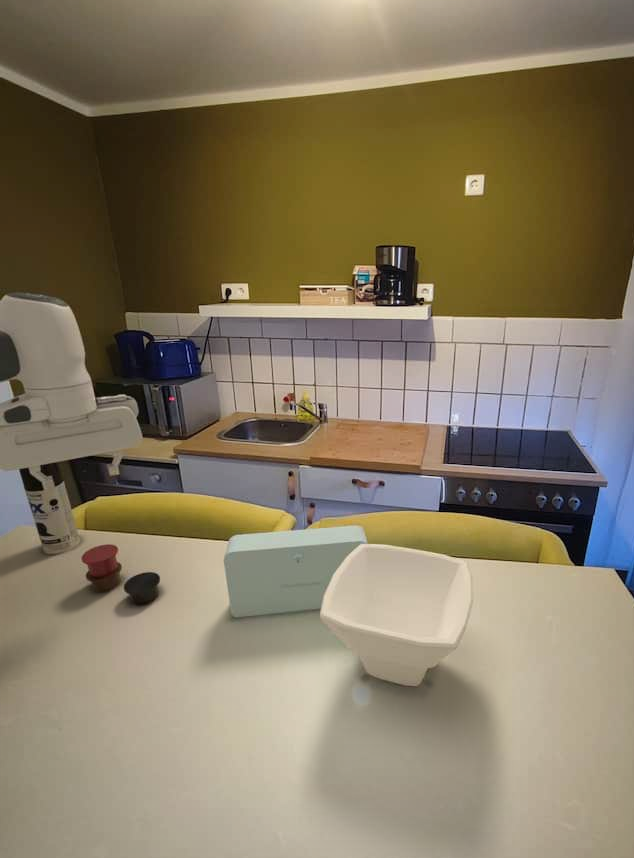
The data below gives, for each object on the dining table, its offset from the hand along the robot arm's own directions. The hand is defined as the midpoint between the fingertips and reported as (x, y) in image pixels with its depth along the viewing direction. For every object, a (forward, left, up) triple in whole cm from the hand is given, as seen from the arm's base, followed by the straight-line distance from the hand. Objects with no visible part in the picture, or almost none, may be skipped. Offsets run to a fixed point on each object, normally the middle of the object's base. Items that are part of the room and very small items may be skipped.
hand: (83, 481), depth 73 cm
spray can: (-6, +21, -22) cm, 31 cm away
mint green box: (+27, -26, -22) cm, 43 cm away
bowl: (+32, -46, -22) cm, 60 cm away
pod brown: (0, 0, -22) cm, 22 cm away
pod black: (+5, -8, -22) cm, 24 cm away
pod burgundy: (0, +1, -18) cm, 18 cm away
